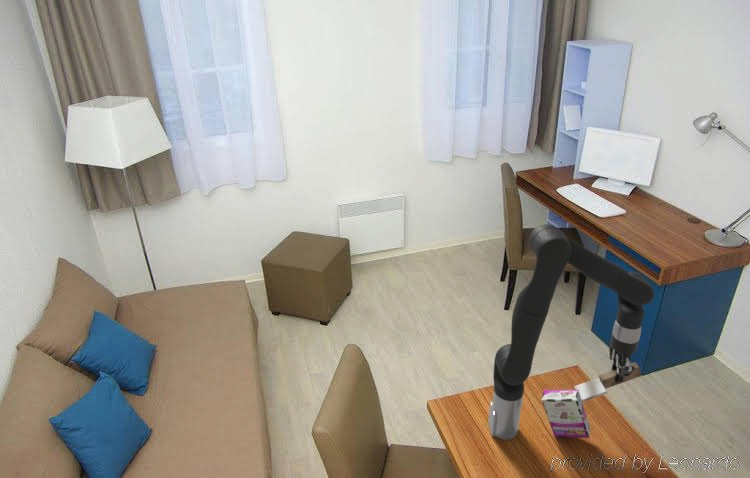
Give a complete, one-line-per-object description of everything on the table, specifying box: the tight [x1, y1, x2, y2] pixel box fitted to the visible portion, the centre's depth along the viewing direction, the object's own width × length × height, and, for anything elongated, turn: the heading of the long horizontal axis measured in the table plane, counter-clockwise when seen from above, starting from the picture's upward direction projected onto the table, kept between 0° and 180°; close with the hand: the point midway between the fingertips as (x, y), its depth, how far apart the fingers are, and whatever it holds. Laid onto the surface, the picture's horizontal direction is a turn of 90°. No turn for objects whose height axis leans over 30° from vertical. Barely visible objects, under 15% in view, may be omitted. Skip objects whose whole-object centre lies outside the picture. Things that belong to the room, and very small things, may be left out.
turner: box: [573, 361, 642, 403], centre depth 166 cm, size 20×6×4 cm, turn 93°
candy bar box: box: [541, 389, 591, 439], centre depth 168 cm, size 11×5×16 cm, turn 64°
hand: (616, 377), depth 166 cm, fingers closed on turner, 2 cm apart
